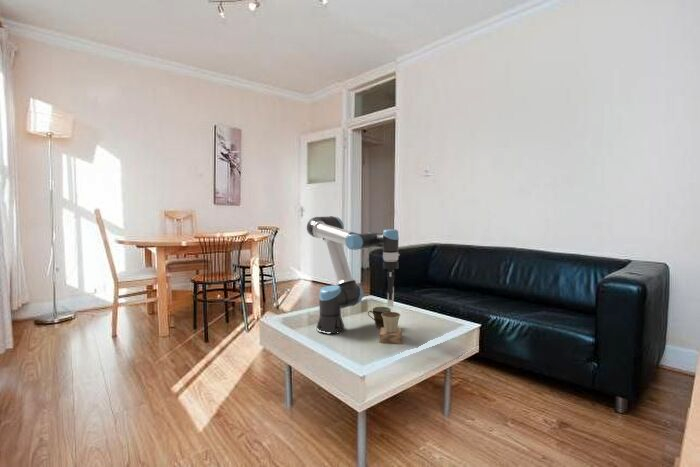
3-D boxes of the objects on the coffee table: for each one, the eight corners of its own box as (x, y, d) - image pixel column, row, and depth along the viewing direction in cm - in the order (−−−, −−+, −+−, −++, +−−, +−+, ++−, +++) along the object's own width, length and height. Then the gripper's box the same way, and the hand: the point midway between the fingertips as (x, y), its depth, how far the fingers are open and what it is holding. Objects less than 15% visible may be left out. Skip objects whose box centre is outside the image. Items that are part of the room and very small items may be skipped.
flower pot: (399, 328, 185) (399, 311, 184) (400, 334, 175) (400, 317, 175) (381, 327, 186) (381, 311, 185) (381, 334, 176) (381, 316, 176)
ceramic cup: (387, 323, 206) (387, 306, 205) (393, 328, 196) (393, 310, 195) (365, 324, 203) (365, 307, 202) (370, 330, 193) (370, 312, 192)
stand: (379, 342, 176) (379, 334, 176) (380, 334, 187) (380, 327, 187) (401, 343, 174) (401, 335, 174) (401, 335, 185) (401, 328, 185)
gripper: (398, 264, 165) (398, 309, 166) (398, 257, 190) (398, 296, 191) (381, 264, 166) (381, 309, 168) (384, 257, 191) (384, 296, 192)
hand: (390, 302), depth 179 cm, fingers open, 13 cm apart
